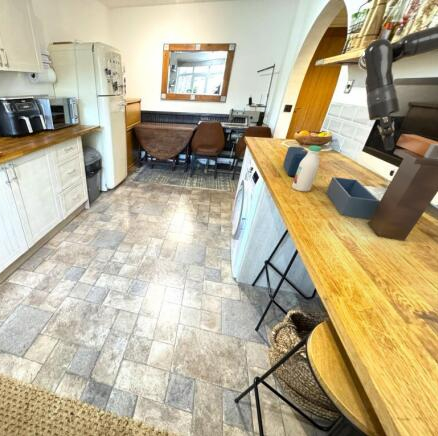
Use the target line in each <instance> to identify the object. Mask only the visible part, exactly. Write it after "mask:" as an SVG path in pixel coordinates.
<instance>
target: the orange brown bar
mask: <svg viewBox="0 0 438 436" xmlns="http://www.w3.org/2000/svg"><path fill="white" fill-rule="evenodd" d="M395 145H396V146H398V147H401V148H403V149H404V150H410V151H412V152H415V153H417V154H419V155H422V156H424V157H426V158H433V159H438V141H437V140H433V139H430V138H426V137H423V136H420V135H417V134H410V133H409V134H408V133H401V134H400V136H399V138H398V139H397V142H396V144H395Z"/></svg>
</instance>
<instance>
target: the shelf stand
mask: <svg viewBox="0 0 438 436" xmlns="http://www.w3.org/2000/svg"><path fill="white" fill-rule="evenodd" d="M393 155H396V156H398V158H402V160H401V163H400V164H399V167H398V168H397V169H396V172H395V173H394V175H393V177H392V179H391V181H390V182H389V184H388V186H387V187H386V190H385V191H384V193H383V195H382V197H381V199H380V200H379V201H380V202H379V204H378V206H377V208H376V209H375V211H374V213H373V215H372V216H371V218H370V219H368V222H367V225H368V226H369V227H370V229H371V230H372V231H373V232H374V234H375V235H376V236H377V237H379V238H385V239H390V240H396V241H403V242H404V241H406V240H407V238H408V236H409V235H410V233H411V232H412V231H413V229H414V228H415V226H416V225H417V223H418V222H419V220H420V219H421V217H422V216H423V214H424V213H425V212H426V210H427V208H428V207H429V206H430V204H431V203H432V201H433V199H434V198H435V197H436V195H437V194H438V159H433V158H426V157H424V156H422V155H419V154H417V153H415V152H412V151H410V150H408V149H401V148H395V149H394V152H393Z"/></svg>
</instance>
